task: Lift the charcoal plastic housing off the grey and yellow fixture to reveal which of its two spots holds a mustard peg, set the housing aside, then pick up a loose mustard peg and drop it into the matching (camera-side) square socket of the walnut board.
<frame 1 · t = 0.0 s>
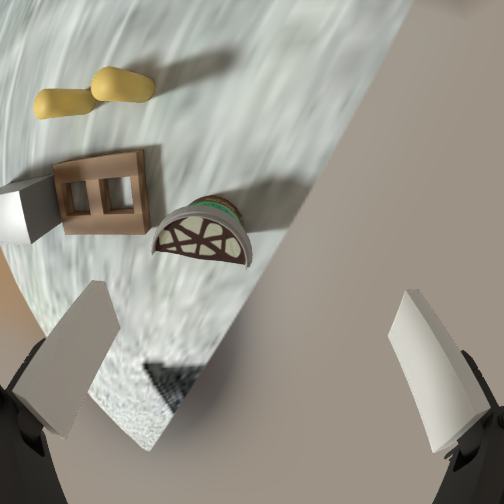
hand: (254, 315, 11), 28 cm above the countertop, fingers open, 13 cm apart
housing: (33, 200, 38), on the countertop
peg b: (141, 89, 30), on the countertop
socket board: (102, 192, 37), on the countertop
food container: (214, 208, 39), on the countertop
peg a: (85, 102, 31), on the countertop
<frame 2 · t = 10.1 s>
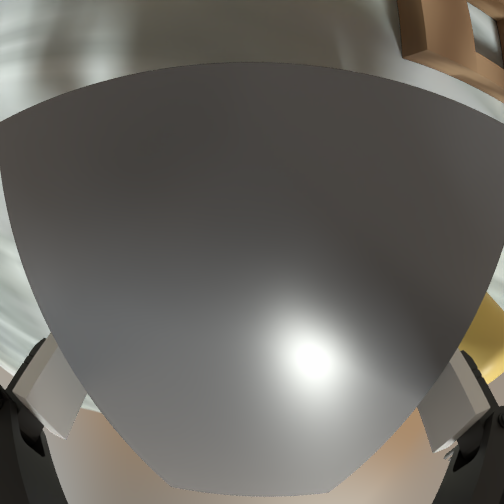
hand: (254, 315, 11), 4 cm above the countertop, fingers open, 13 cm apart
housing: (258, 267, 15), on the countertop
grey and yellow fixture: (462, 235, 13), on the countertop
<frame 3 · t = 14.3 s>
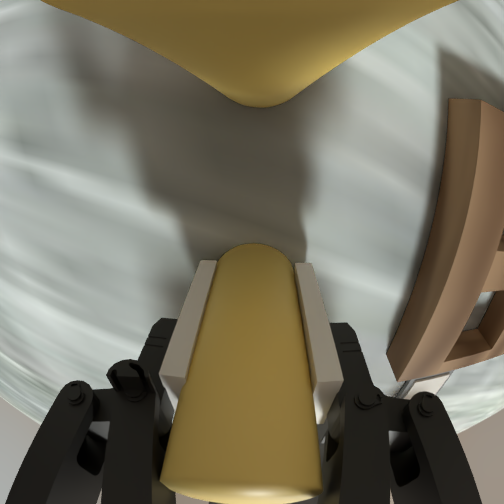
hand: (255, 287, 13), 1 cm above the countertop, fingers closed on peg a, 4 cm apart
housing: (272, 435, 22), on the countertop
peg b: (260, 62, 9), on the countertop
grey and yellow fixture: (404, 410, 20), on the countertop
socket board: (490, 251, 12), on the countertop
peg a: (254, 280, 13), on the countertop, touching gripper
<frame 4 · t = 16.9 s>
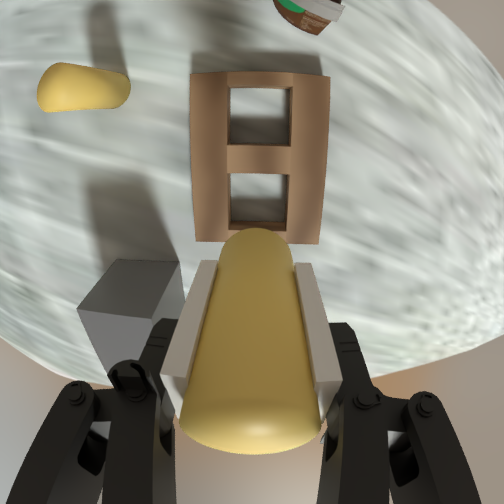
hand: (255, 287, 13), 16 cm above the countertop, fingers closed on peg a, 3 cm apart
housing: (157, 314, 35), on the countertop
peg b: (114, 90, 22), on the countertop
socket board: (258, 156, 25), on the countertop
peg a: (255, 261, 15), point 13 cm above the countertop, touching gripper
when the fingers open (3 cm above the countertop, at t = 19.8 s): peg a drops 1 cm, resting in socket board.
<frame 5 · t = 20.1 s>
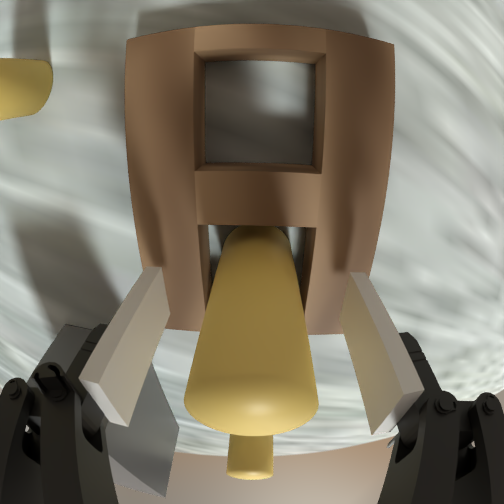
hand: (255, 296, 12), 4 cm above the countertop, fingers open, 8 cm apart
housing: (127, 387, 24), on the countertop
peg b: (33, 87, 11), on the countertop
grey and yellow fixture: (253, 388, 22), on the countertop
socket board: (258, 185, 14), on the countertop
peg a: (256, 254, 16), resting in socket board
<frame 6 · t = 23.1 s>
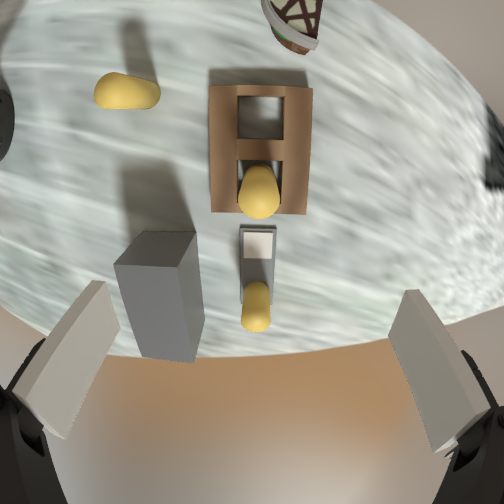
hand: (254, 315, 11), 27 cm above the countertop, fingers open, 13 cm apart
housing: (175, 279, 42), on the countertop
peg b: (146, 95, 30), on the countertop
grey and yellow fixture: (257, 268, 41), on the countertop
socket board: (260, 147, 33), on the countertop
food container: (285, 21, 25), on the countertop
peg a: (259, 178, 35), resting in socket board
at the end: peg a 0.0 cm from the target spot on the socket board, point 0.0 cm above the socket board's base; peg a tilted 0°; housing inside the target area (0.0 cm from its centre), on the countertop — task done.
